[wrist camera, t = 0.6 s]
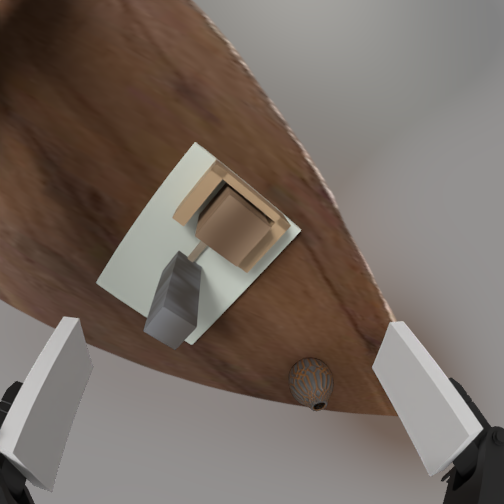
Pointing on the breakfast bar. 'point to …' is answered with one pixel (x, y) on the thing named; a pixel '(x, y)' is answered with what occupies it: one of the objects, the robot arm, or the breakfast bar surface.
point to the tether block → (189, 272)
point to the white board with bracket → (191, 241)
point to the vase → (311, 383)
